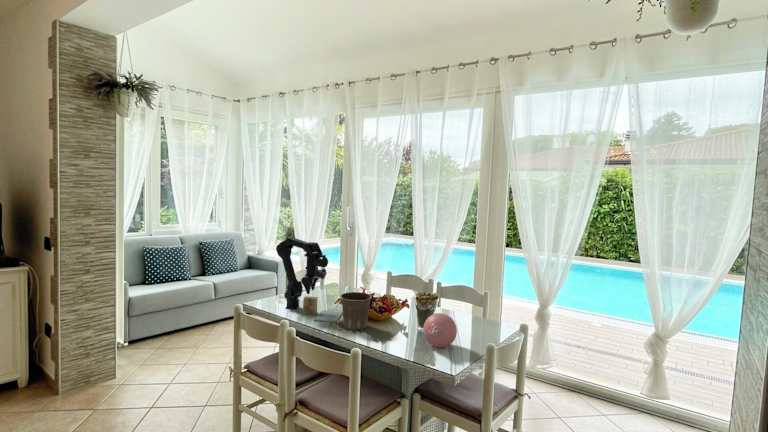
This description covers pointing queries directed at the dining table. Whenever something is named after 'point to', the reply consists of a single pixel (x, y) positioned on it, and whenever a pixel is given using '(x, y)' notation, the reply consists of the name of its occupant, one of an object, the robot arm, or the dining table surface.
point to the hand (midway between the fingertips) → (310, 292)
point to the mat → (328, 316)
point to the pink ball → (440, 330)
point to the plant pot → (355, 310)
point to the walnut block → (310, 305)
